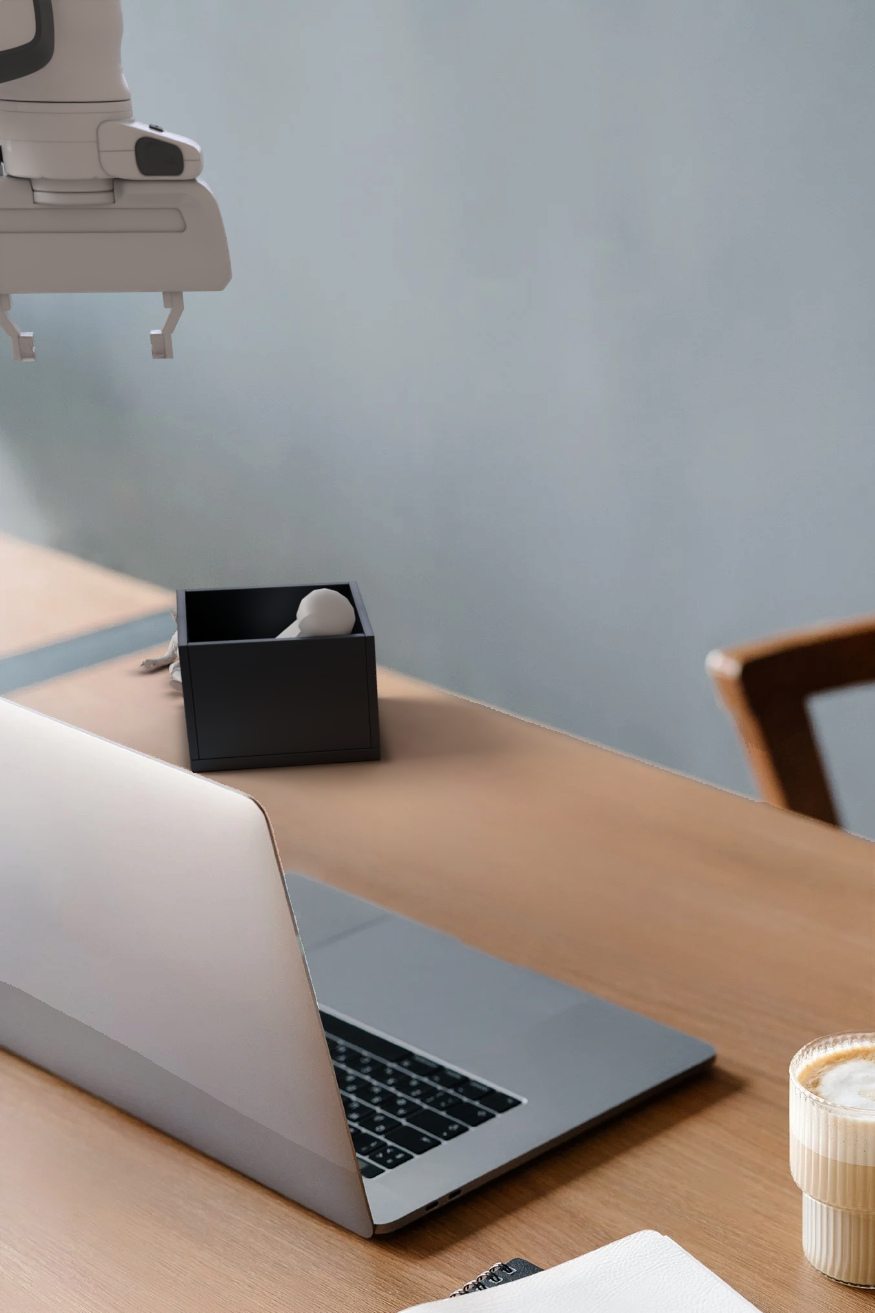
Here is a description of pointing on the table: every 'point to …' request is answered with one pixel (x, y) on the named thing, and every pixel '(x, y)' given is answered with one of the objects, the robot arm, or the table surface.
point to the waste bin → (274, 680)
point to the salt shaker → (322, 616)
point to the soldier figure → (169, 659)
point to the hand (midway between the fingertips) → (94, 358)
